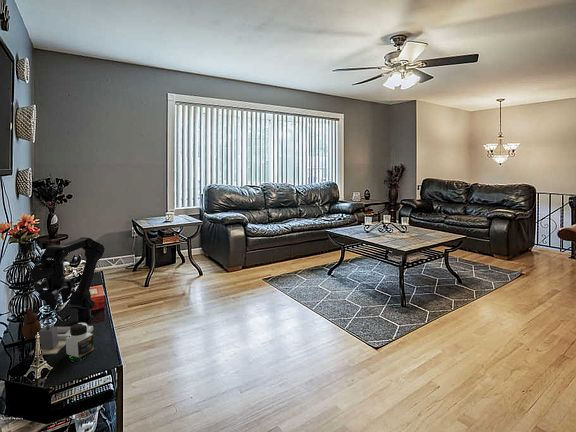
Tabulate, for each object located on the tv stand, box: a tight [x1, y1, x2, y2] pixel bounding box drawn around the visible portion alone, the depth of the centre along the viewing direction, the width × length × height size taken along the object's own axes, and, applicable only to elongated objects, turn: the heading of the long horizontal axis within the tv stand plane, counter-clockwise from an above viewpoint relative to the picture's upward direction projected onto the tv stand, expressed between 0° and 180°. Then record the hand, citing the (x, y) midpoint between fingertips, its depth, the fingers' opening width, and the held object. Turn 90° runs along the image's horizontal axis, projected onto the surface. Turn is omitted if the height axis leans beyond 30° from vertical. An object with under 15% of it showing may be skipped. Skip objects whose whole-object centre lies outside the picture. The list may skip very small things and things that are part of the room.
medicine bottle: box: [65, 322, 95, 359], centre depth 141 cm, size 7×7×12 cm
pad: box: [29, 340, 66, 356], centre depth 144 cm, size 10×10×1 cm
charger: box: [38, 324, 59, 349], centre depth 143 cm, size 4×5×10 cm
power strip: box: [56, 325, 94, 341], centre depth 155 cm, size 9×18×3 cm, turn 97°
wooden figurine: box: [21, 306, 42, 340], centre depth 151 cm, size 7×6×15 cm
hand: (59, 306), depth 155 cm, fingers open, 9 cm apart
